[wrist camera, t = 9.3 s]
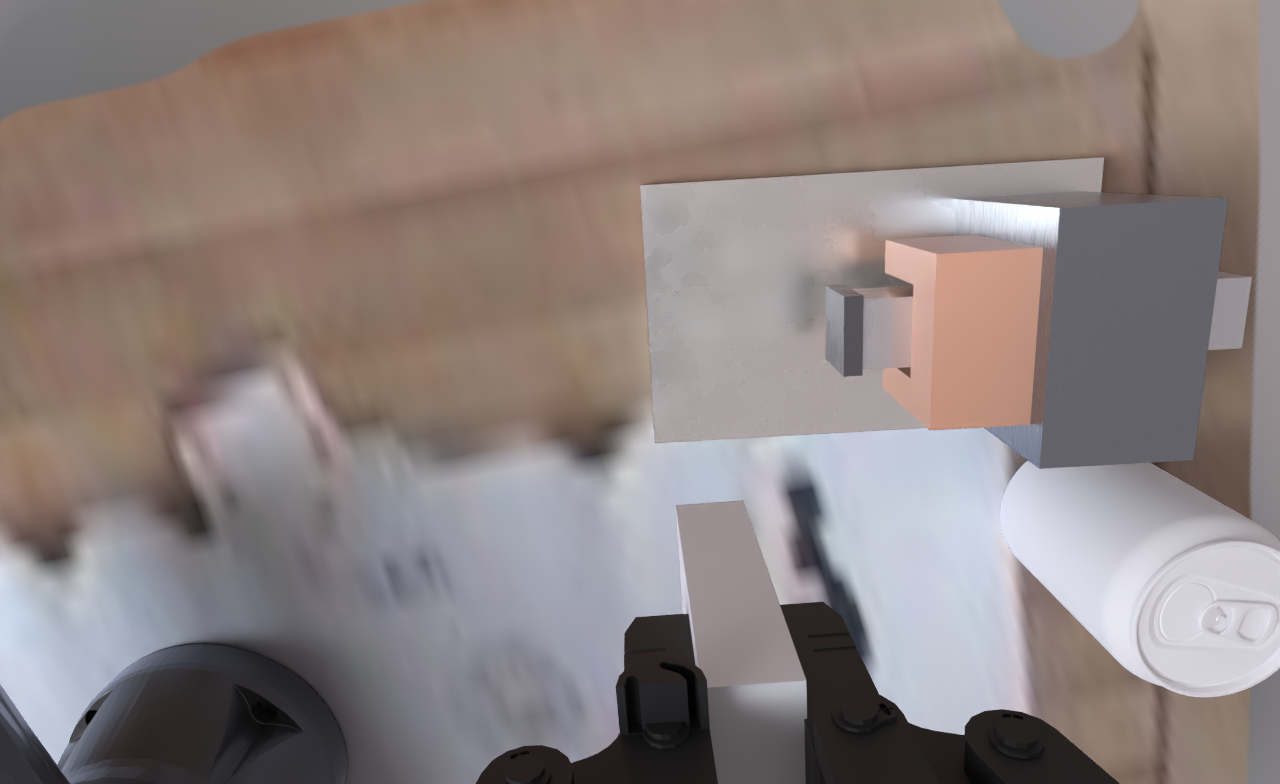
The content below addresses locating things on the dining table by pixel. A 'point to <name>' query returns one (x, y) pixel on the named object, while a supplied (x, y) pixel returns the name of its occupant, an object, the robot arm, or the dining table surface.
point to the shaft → (882, 317)
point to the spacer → (967, 330)
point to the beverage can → (1152, 572)
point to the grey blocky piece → (855, 256)
